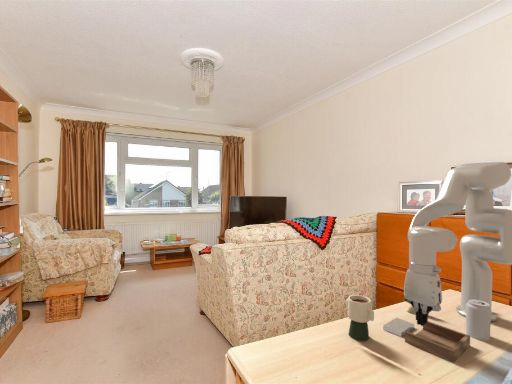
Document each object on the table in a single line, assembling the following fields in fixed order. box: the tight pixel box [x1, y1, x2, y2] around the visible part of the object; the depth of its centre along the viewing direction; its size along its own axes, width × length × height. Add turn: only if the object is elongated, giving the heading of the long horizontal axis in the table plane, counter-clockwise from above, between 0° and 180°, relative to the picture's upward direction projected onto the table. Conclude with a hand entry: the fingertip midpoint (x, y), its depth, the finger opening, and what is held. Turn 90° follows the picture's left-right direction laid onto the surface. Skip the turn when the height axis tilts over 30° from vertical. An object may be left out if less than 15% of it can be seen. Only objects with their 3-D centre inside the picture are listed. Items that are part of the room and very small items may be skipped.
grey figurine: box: [406, 304, 432, 316], centre depth 109 cm, size 6×8×10 cm
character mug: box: [345, 294, 375, 342], centre depth 91 cm, size 11×7×13 cm, turn 29°
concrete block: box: [382, 317, 415, 338], centre depth 96 cm, size 10×6×2 cm, turn 129°
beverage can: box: [465, 299, 492, 342], centre depth 93 cm, size 6×6×12 cm
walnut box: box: [404, 320, 471, 363], centre depth 87 cm, size 14×13×4 cm
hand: (421, 323), depth 92 cm, fingers closed
